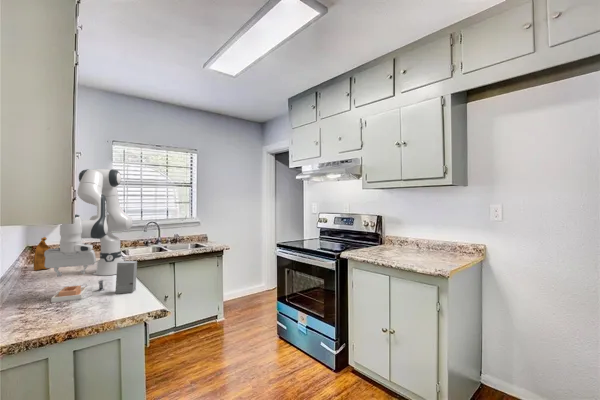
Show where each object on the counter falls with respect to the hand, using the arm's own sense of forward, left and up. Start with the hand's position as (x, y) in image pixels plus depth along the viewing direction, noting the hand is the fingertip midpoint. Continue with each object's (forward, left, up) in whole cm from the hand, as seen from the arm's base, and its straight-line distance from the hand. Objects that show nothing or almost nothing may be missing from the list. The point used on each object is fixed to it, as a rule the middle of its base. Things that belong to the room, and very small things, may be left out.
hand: (71, 275), depth 148 cm
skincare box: (+2, +24, -11) cm, 27 cm away
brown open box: (+1, 0, -10) cm, 10 cm away
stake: (-6, +12, -11) cm, 17 cm away
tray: (0, 0, -11) cm, 11 cm away
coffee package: (-85, -32, -11) cm, 92 cm away
